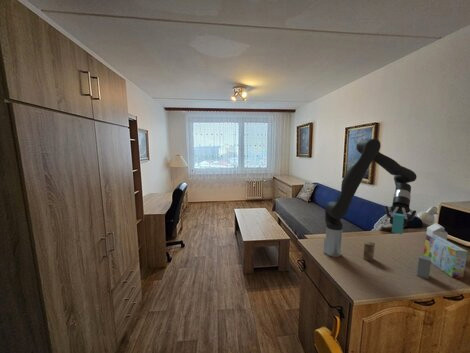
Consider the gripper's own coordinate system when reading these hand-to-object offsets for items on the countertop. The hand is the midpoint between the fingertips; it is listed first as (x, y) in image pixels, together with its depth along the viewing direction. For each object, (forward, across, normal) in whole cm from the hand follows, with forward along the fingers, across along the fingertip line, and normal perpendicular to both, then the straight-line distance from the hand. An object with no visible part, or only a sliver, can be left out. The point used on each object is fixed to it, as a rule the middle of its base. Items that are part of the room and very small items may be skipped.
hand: (397, 224), depth 108 cm
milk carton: (-10, +18, +46) cm, 50 cm away
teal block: (+2, 0, +5) cm, 5 cm away
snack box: (+4, +20, +32) cm, 38 cm away
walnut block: (+16, -12, +19) cm, 28 cm away
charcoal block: (+16, +12, +19) cm, 28 cm away
